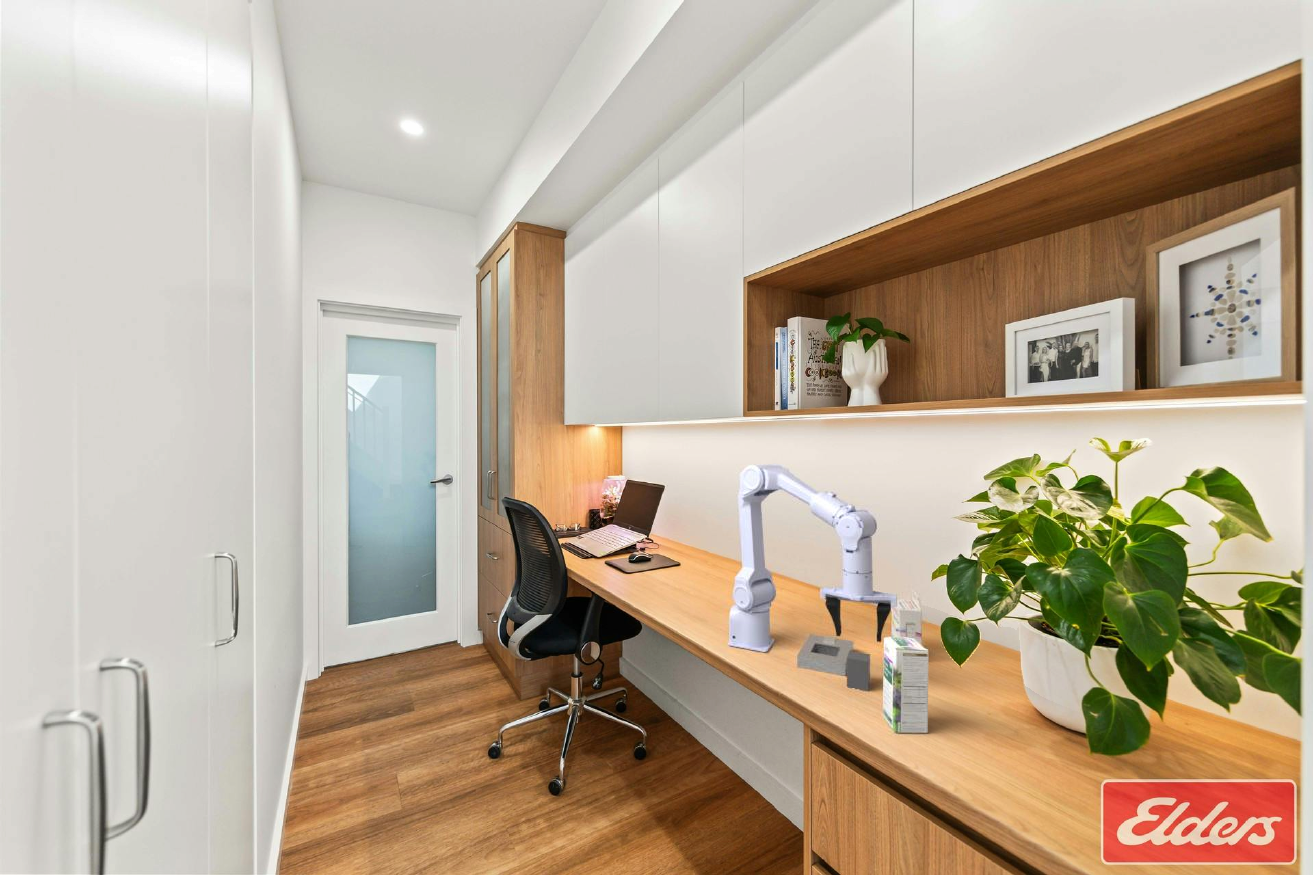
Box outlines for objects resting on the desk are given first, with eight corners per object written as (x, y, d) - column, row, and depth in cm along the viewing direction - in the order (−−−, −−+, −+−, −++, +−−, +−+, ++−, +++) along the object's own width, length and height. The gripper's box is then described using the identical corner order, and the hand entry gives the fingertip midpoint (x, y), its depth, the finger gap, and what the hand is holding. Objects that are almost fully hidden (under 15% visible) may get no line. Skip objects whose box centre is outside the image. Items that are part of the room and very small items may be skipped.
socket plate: (797, 666, 117) (797, 653, 117) (809, 644, 129) (809, 632, 129) (845, 676, 112) (845, 662, 112) (853, 651, 125) (853, 639, 125)
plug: (846, 687, 107) (846, 657, 107) (849, 679, 111) (849, 650, 111) (868, 691, 105) (868, 661, 105) (870, 683, 109) (870, 654, 109)
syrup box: (881, 716, 96) (881, 636, 96) (914, 716, 96) (914, 636, 96) (894, 733, 90) (894, 648, 90) (930, 734, 90) (929, 649, 90)
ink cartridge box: (890, 646, 128) (890, 585, 128) (912, 647, 127) (912, 586, 127) (898, 661, 119) (898, 595, 119) (922, 663, 118) (922, 597, 118)
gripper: (817, 571, 108) (818, 638, 108) (895, 578, 101) (897, 649, 101) (822, 564, 114) (824, 627, 114) (896, 570, 108) (898, 637, 108)
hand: (858, 637), depth 108 cm, fingers open, 7 cm apart
